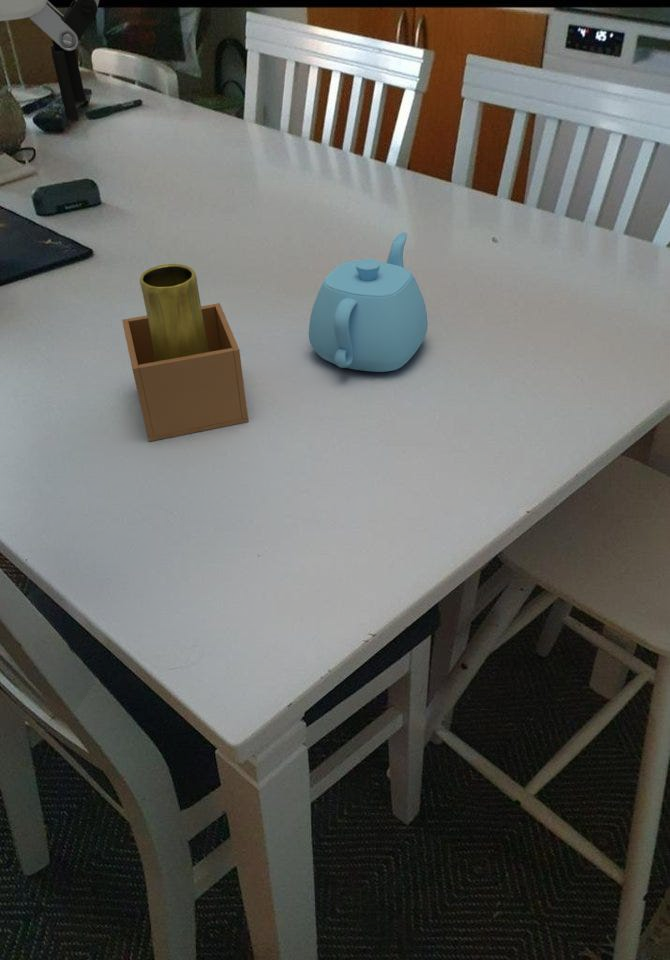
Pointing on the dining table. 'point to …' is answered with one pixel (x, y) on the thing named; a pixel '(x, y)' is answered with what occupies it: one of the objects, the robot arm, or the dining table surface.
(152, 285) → the vase
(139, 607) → the dining table surface
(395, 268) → the teapot
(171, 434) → the package
